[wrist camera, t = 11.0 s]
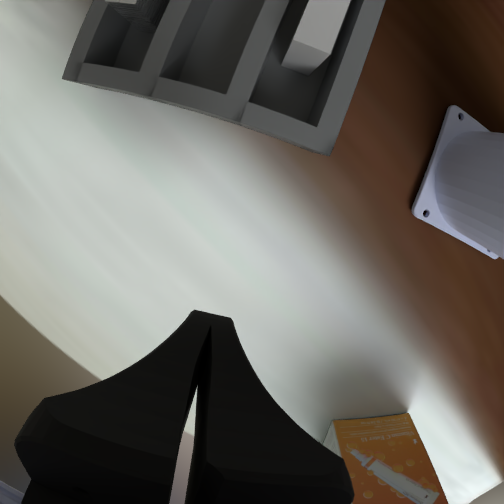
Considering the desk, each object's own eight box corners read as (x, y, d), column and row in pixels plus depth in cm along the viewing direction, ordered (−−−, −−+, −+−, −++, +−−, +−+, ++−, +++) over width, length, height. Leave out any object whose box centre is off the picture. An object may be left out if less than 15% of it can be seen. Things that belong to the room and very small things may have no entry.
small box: (409, 410, 25) (457, 518, 13) (387, 448, 27) (420, 546, 15) (330, 418, 25) (360, 548, 13) (315, 456, 27) (333, 567, 15)
